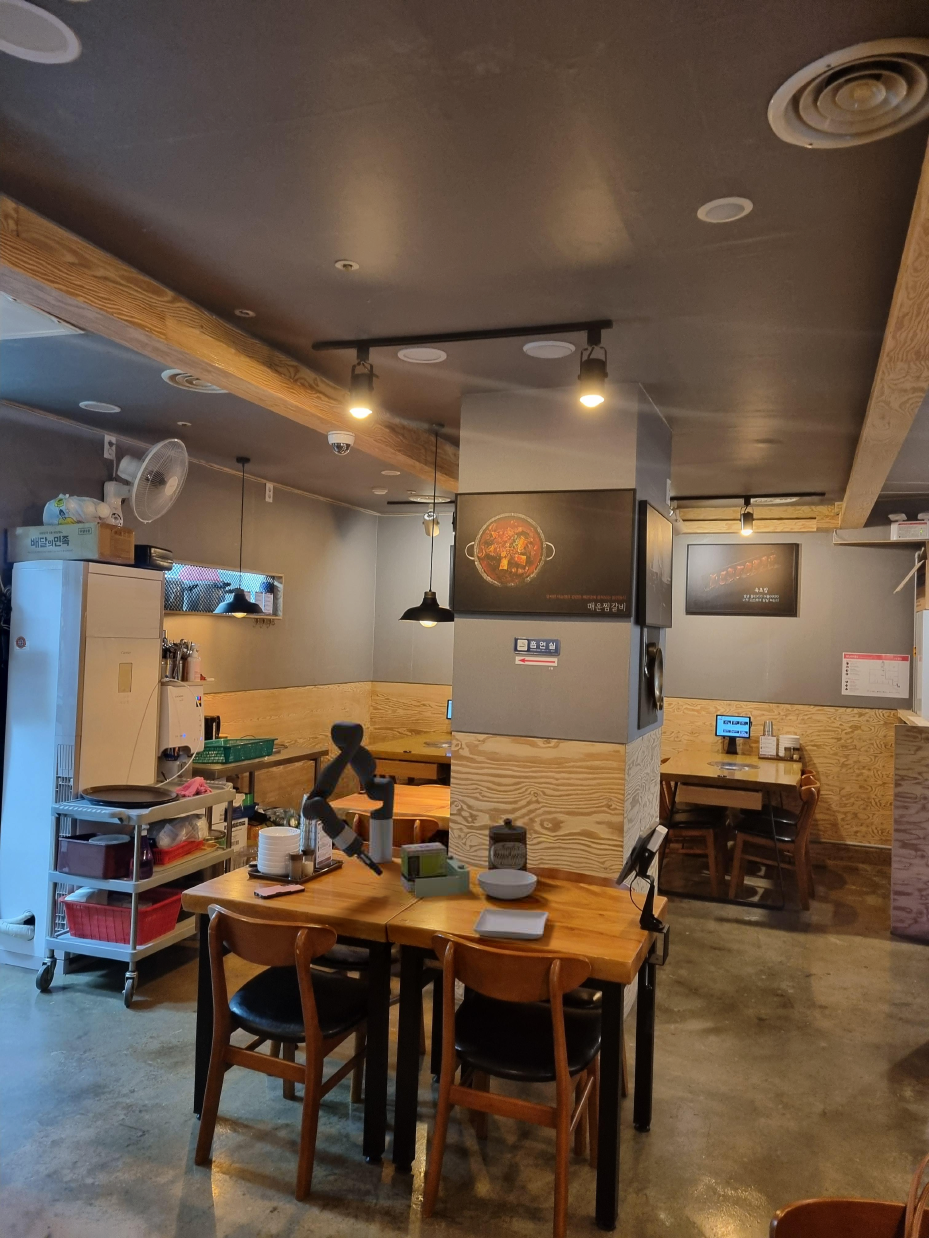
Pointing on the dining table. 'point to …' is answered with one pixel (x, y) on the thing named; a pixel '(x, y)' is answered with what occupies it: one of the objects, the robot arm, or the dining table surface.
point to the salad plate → (511, 923)
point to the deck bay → (445, 881)
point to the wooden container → (507, 847)
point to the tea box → (422, 863)
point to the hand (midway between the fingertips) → (380, 873)
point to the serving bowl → (507, 883)
